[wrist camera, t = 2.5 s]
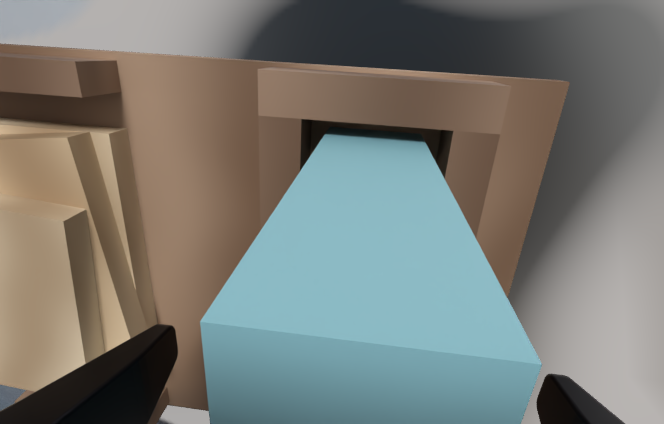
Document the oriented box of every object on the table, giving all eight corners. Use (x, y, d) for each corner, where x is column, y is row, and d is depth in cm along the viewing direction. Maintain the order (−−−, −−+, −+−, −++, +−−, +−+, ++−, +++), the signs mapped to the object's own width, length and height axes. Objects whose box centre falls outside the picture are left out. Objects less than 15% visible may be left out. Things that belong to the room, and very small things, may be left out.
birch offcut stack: (39, 350, 15) (-21, 402, 12) (-37, 113, 11) (-139, 129, 9) (171, 368, 14) (134, 425, 12) (137, 128, 11) (74, 148, 9)
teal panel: (315, 397, 14) (245, 775, 7) (329, 126, 10) (200, 321, 3) (379, 406, 14) (381, 806, 6) (420, 134, 10) (542, 364, 3)
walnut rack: (57, 371, 16) (9, 418, 14) (-44, 40, 11) (-142, 37, 9) (460, 428, 15) (473, 490, 13) (555, 79, 10) (603, 87, 8)
